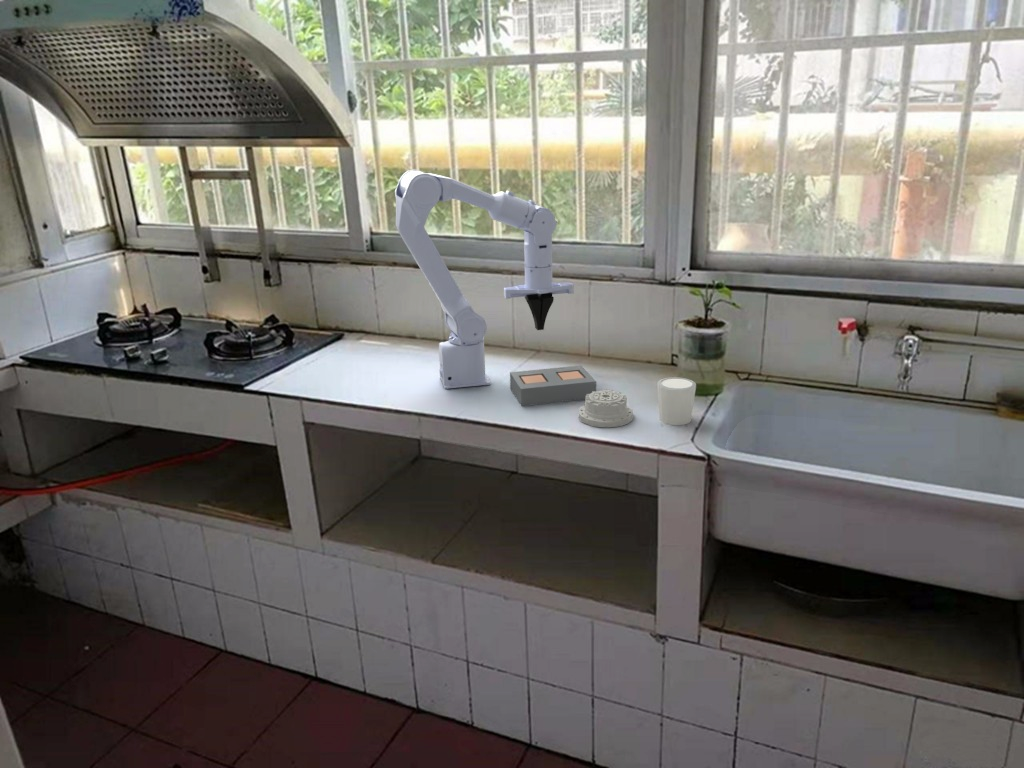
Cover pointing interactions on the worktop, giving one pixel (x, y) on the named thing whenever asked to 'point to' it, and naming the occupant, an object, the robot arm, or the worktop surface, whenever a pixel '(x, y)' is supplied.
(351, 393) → the worktop surface
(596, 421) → the mechanical component
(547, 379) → the switch block
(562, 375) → the button
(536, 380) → the button
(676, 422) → the white cup
